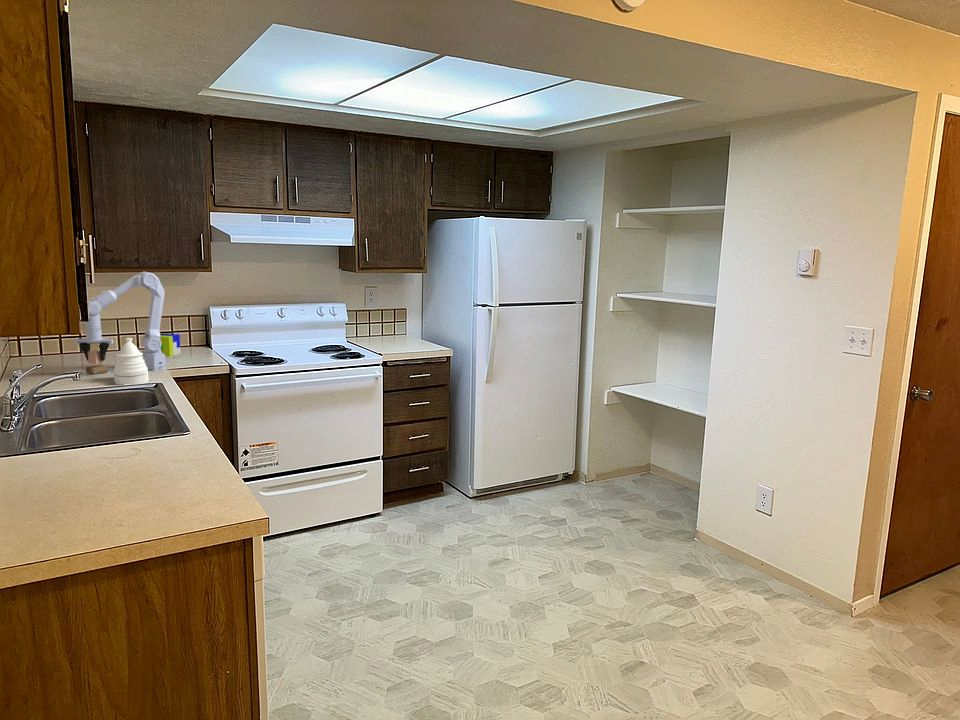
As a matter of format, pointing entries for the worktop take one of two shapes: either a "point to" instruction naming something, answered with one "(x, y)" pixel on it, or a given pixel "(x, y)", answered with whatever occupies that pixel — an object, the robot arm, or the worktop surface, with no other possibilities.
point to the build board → (110, 371)
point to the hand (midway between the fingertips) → (95, 360)
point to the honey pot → (130, 365)
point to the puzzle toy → (170, 344)
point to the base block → (96, 369)
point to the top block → (94, 357)
